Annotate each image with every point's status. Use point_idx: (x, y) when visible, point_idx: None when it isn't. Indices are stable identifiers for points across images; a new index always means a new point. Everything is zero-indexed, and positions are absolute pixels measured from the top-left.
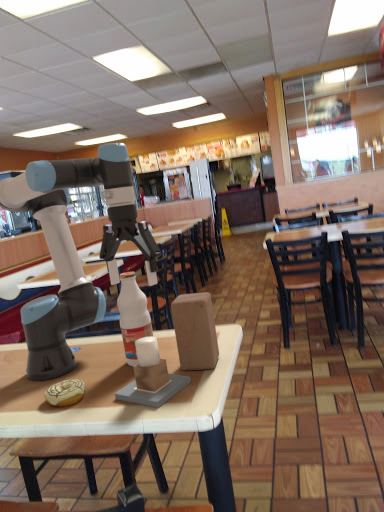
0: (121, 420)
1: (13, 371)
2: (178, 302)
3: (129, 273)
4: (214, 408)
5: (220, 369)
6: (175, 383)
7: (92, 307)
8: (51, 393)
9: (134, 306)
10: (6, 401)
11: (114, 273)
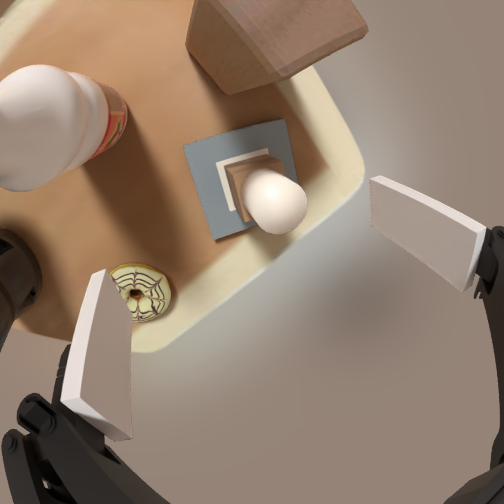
0: (278, 256)
1: None
2: (304, 60)
3: None
4: (363, 162)
5: None
6: (281, 152)
7: None
8: (146, 318)
9: (81, 140)
10: None
11: (114, 340)
